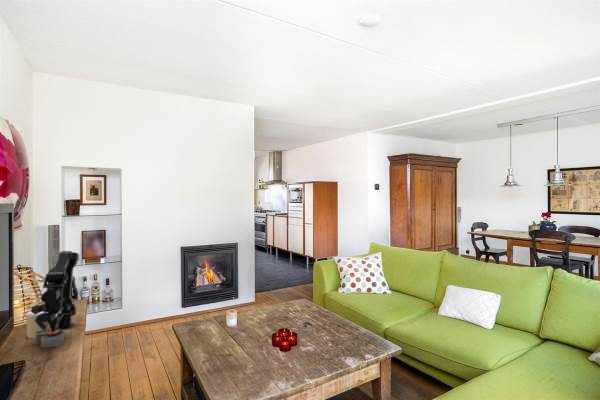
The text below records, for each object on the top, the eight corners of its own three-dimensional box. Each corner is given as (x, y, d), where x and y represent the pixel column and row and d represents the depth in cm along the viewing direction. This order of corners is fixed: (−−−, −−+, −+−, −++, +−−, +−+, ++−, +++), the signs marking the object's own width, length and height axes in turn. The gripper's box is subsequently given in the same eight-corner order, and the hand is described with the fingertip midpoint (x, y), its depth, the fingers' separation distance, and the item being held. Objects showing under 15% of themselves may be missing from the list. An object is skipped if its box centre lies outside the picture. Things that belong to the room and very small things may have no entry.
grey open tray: (41, 340, 157) (42, 331, 157) (66, 339, 159) (67, 330, 159) (31, 348, 149) (31, 338, 149) (57, 347, 151) (58, 337, 151)
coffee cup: (35, 340, 157) (37, 315, 157) (20, 337, 159) (21, 313, 159) (53, 332, 166) (55, 309, 166) (39, 330, 168) (40, 307, 168)
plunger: (49, 339, 156) (50, 328, 156) (60, 339, 157) (60, 328, 157) (44, 343, 151) (45, 332, 152) (55, 343, 152) (55, 332, 152)
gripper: (47, 292, 162) (45, 323, 162) (23, 303, 144) (20, 339, 143) (72, 292, 164) (70, 323, 164) (51, 303, 146) (49, 338, 146)
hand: (53, 330), depth 154 cm, fingers closed, pressing on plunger
